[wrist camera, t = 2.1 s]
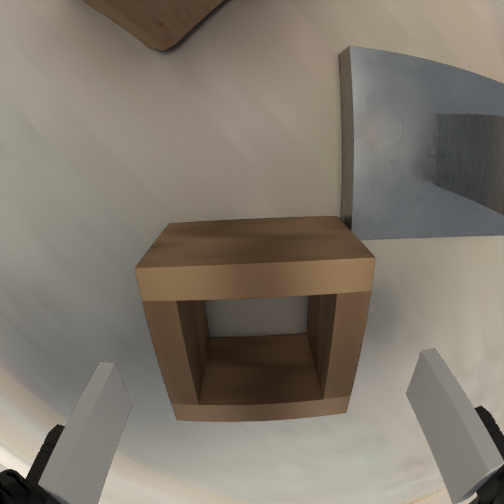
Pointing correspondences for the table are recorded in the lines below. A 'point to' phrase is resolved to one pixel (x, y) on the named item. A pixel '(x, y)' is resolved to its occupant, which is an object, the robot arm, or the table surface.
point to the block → (156, 18)
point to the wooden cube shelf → (257, 286)
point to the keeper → (419, 148)
